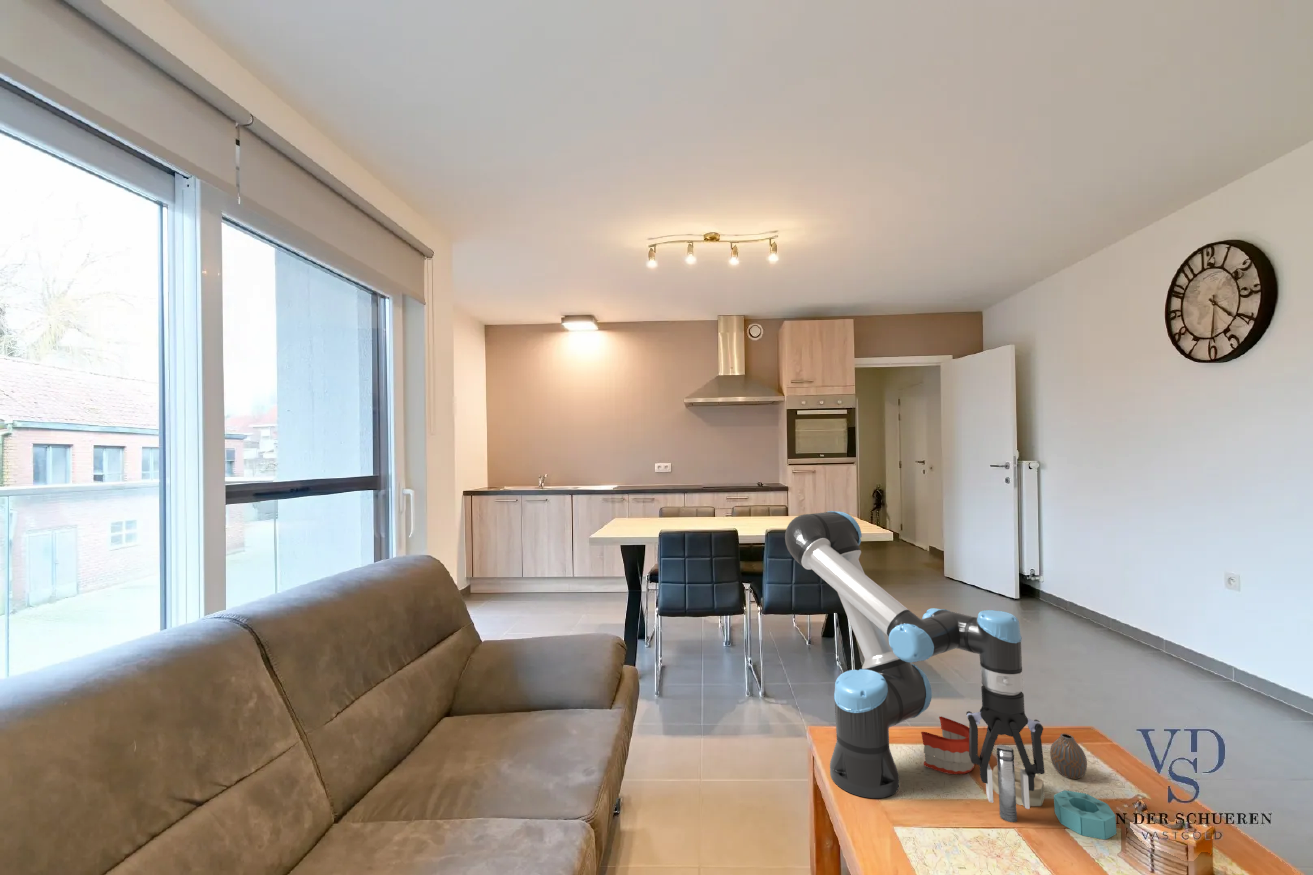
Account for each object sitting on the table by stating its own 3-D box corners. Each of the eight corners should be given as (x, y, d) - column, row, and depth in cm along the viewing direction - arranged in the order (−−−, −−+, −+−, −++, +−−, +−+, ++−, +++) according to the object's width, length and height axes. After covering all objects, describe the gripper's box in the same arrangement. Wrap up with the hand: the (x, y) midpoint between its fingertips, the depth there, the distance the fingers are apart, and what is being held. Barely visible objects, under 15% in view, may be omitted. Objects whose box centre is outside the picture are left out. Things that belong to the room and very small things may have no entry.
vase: (1094, 783, 123) (1092, 744, 123) (1060, 781, 124) (1058, 742, 125) (1077, 766, 130) (1075, 729, 130) (1045, 764, 131) (1043, 727, 131)
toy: (968, 784, 124) (966, 749, 124) (921, 766, 132) (920, 732, 132) (986, 763, 132) (985, 729, 133) (941, 747, 140) (940, 715, 140)
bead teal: (1065, 832, 108) (1064, 814, 108) (1050, 804, 116) (1049, 787, 116) (1122, 842, 104) (1121, 824, 105) (1102, 813, 113) (1101, 795, 113)
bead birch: (1011, 806, 116) (1011, 790, 116) (984, 781, 125) (983, 765, 125) (1053, 805, 116) (1053, 788, 116) (1023, 779, 125) (1022, 764, 125)
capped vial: (1001, 820, 112) (998, 751, 112) (997, 811, 114) (994, 743, 115) (1019, 823, 110) (1015, 753, 111) (1015, 814, 113) (1011, 745, 114)
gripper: (954, 689, 113) (959, 803, 112) (1061, 701, 107) (1068, 822, 106) (949, 675, 120) (954, 782, 119) (1049, 686, 114) (1055, 799, 113)
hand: (1007, 801), depth 113 cm, fingers open, 6 cm apart
